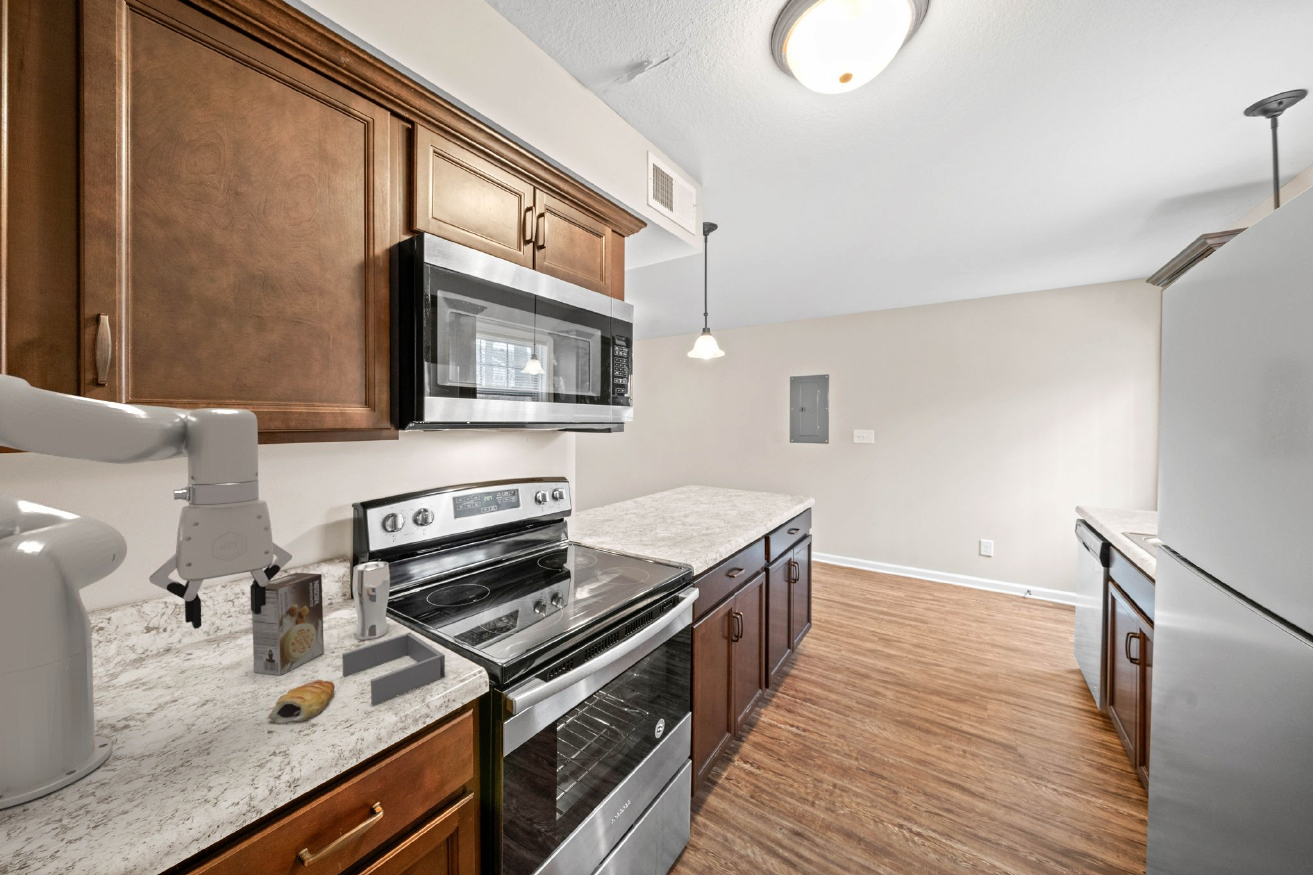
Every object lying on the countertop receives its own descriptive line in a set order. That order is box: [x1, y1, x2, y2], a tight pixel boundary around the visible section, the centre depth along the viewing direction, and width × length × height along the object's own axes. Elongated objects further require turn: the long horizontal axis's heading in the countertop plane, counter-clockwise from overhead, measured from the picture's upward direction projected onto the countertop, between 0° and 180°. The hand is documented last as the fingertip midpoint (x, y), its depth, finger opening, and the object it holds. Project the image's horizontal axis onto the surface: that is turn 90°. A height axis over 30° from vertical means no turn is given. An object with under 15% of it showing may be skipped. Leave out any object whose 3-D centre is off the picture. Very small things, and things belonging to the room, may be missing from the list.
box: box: [341, 632, 446, 706], centre depth 87 cm, size 12×15×4 cm
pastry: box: [268, 679, 336, 724], centre depth 78 cm, size 9×7×4 cm
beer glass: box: [352, 560, 391, 641], centre depth 105 cm, size 7×7×15 cm
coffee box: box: [251, 572, 325, 676], centre depth 92 cm, size 9×6×16 cm
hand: (227, 617), depth 70 cm, fingers open, 5 cm apart
